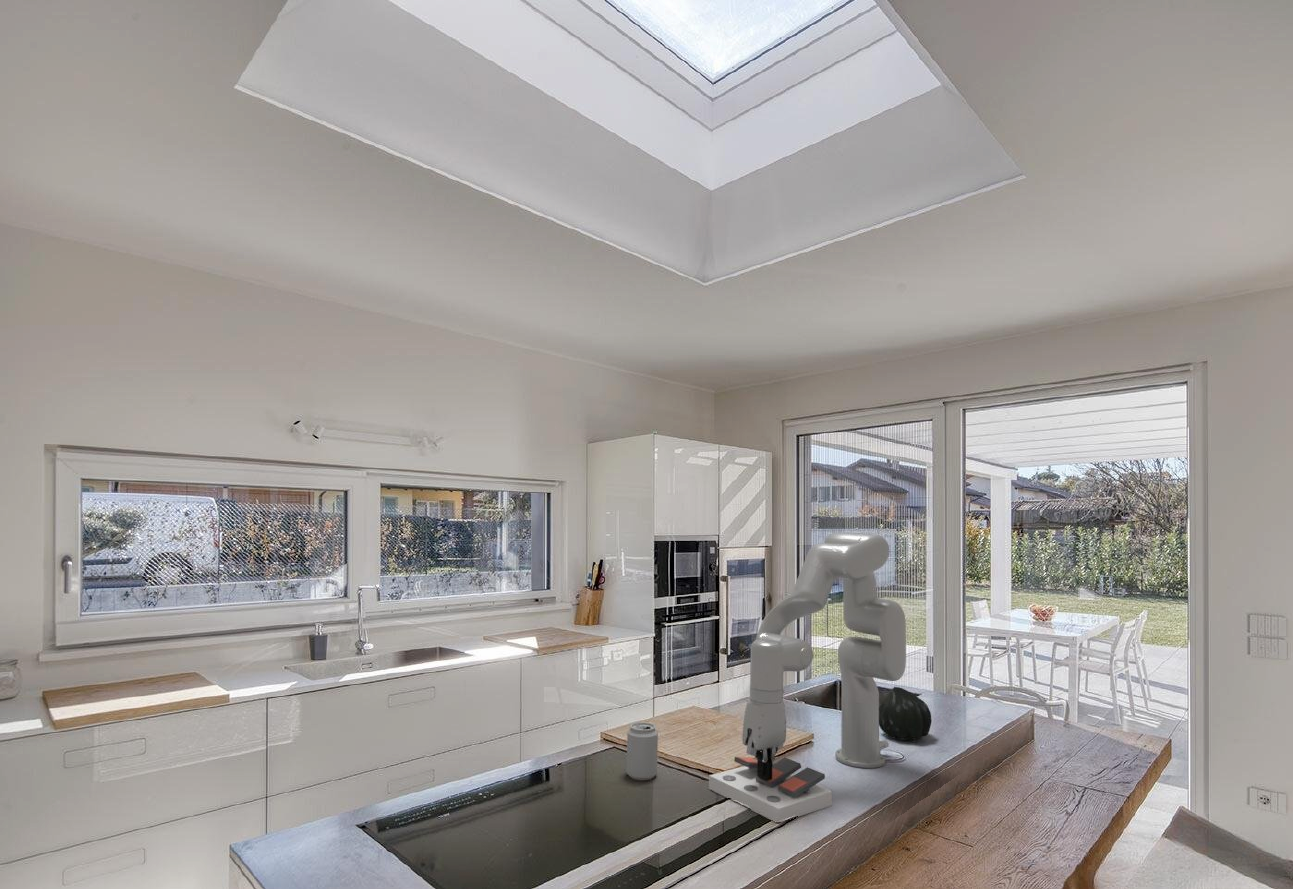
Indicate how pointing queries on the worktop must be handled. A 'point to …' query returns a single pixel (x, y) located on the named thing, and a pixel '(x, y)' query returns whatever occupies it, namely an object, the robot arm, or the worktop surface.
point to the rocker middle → (780, 771)
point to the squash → (904, 715)
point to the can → (642, 751)
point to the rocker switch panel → (767, 794)
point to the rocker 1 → (747, 761)
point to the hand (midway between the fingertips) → (764, 777)
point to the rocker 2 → (801, 782)
